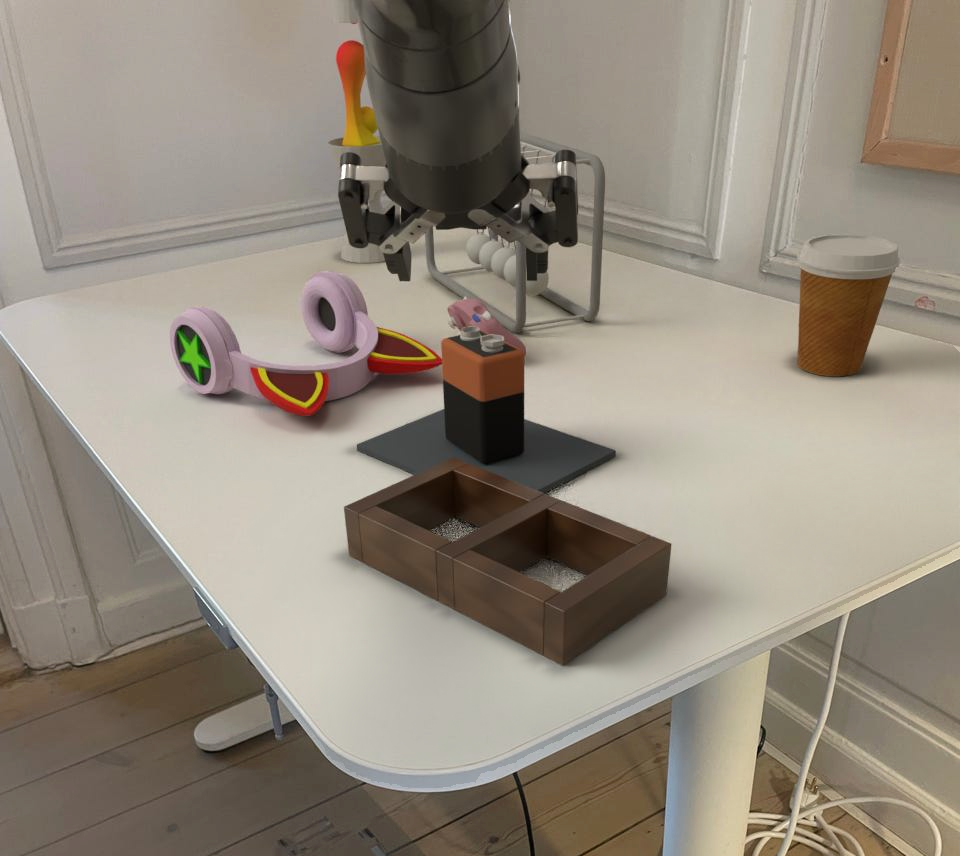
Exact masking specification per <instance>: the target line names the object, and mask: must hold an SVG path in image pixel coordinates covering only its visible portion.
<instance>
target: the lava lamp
mask: <svg viewBox="0 0 960 856" xmlns="http://www.w3.org/2000/svg"><path fill="white" fill-rule="evenodd" d="M331 23H333V24H352V25H356V24H358V20H357V16H356V12H355V8H354V3H353V0H332V15H331ZM335 61H336V66H337V69H338V70H337V71H338V73H339V77H340V81H341V85H342V90H343V93H344V94H343V95H344V103H345V104H344V105H345V115H346V116H345V130H344V136H343V137H339V138H335V139H330V140H329V141H327V142H328V143H327V145H328V147H329V150H330V152H331V155H332V158H333V160H334V163H335V165H336V167H337V169H338V172H340V157H341V155H342V154H343V153H347V152H352V153H355V154H357V155H359V156H360V158H361V162H362V166H381V167H385V164H386V160H385V156H384V151H383V147H382V143H381V139H380V135H374V134H376V132H377V131H378V126H377V122H376V118H375V114H374V110H373V107H370V106H362V105H361V104H362V103H361V102H362V101H361V93H362V90H363V89H362V88H363V85H364V80H365V79H366V71H365V56H364V47H363V43H361V42H359V41H357V40H354V39H353V40H352V39H350V40H346V41H344V42H343V43H341V44H340V46H339V47H338V48H337V51H336V55H335ZM383 192H384V190H383V191H379V192H377V193H376V195H375V199H374V200H373V201H370V202H369V205H370V212H374V213H379V214H381V212H382V210H383V209H384V208H385V206H384V203H383V200H382V197H383ZM340 258H341V260H343V261H346V262H350V263H357V264H373V263H383V262H386V261H385V259H384V255H383V252H381V251H380V249H379V246H377V245H375V244H371V243H368V246H367V247H365V248H355V247H352V246H351V245H350V244H349V240H348V236H347V232H346V229H345V230H344V236H343V241H342V245H341V252H340Z"/></svg>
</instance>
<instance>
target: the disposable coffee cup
mask: <svg viewBox="0 0 960 856" xmlns="http://www.w3.org/2000/svg"><path fill="white" fill-rule="evenodd" d="M796 258H797V261H798V267H799V268H800V277H799V278H800V279H799V282H800V283H799V307H798V308H799V309H798V310H799V311H798V336H797V337H798V340H797V343H798V344H797V364H796V365H797V366H798V367H799V368H800V369H801V370H803V371H805V372H808V373H811V374H815V375H818V376H825V377H843V376H850V375H855V374H857V373H859V372H860V371H861V369H862V366H863V363H864V360H865V357H866V354H867V351H868V348H869V345H870V342H871V339H872V336H873V333H874V330H875V327H876V325H877V321H878V318H879V314H880V312H881V309H882V306H883V304H884V300H885V298H886V295H887V291H888V289H889V284H890V282H891V279H892V277H893V274H894V273H895V272H896V269H897V268H898V267H899V265H900V264H901V259H900V258H899V247H898V244H897V243H895V242H893V241H891V240H889V239H885V238H882V237H878V236H873V235H872V236H871V235H864V234H850V233H849V234H848V233H834V234H833V233H831V234H822V235H817V236H813V237H810V238H808V239H806V240H805V241H804V243H803V246H802V249H801V251H800V252H798V254H797V257H796Z"/></svg>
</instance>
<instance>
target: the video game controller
mask: <svg viewBox="0 0 960 856" xmlns="http://www.w3.org/2000/svg"><path fill="white" fill-rule="evenodd" d="M446 310H447V314H448V315H449V317H450V319H447V321H448V325H449V327H450V328H451V329H452V330H456V328H457V329H458V331H460V332H461V329H462V328H464V327H468V326H474V327H478V328H479V329H480V331H485V332H487V333H489V334H495V335H501V336H503V337H504V341H505V342H507V343H509V344H511V345H513V346H515V347H517V348H519V349H521V350H522V351H523V352H524V359H525V358H526V356H527V348H526V345H525V344H524V342H523V341H521V339H519V338H518V337H517V336H515V335H514V334H512V333H511V332H509V331H508V329H507V328H505V327H504V326H503V325H501V324H500V323H499V322H498V320H497V319H496V318H495V317H494V316H493V315H492V314H491V313H490V312H489V311H488V308H487V307H486V305H485V304H484V303H483V302H481V301H479V300H476V299H467V298H466V296H465V297H464V299H463V298H462V299H457V300H456V301H455V302H453V303H452V304H450V305H449V306H448V307H447V308H446Z"/></svg>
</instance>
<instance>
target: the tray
mask: <svg viewBox="0 0 960 856" xmlns="http://www.w3.org/2000/svg"><path fill="white" fill-rule="evenodd" d="M343 512H344V521H345V522H344V523H345V531H346V539H347V549H348V555H349V556H350V557H351V558H354V559H355V560H357V561H359V562H362V563H363V564H366V565H367V566H369V567H371V568H373V569H375V570H377V571H379V572H381V573H383V574H384V575H387V576H388V577H391V578H392V579H394V580H396V581H398V582H399V583H400V582H401V583H402V584H404V585H405V586H408V587H409V588H411V589H413V590H415V591H417V592H419V593H422V594H423V595H425V596H427V597H428V598H431V599H433V600H435V601H437V602H439V603H440V604H443V605H445V606H446V607H449V608H450V609H452V610H455V611H456V612H458V613H460V614H462V615H464V616H466V617H468V618H470V619H471V620H474V621H475V622H477V623H478V624H479V623H480V624H481V625H483V626H485V627H487V628H490V629H491V630H493V631H495V632H497V633H499V634H501V635H503V636H504V637H507V638H509V639H510V640H513V641H514V642H517V643H518V644H520V645H522V646H524V647H526V648H528V649H530V650H531V651H534V652H536V653H537V654H539V655H541V656H544V657H546V658H547V659H549V660H551V661H553V662H555V663H557V664H559V665H560V666H564V665H566V664H567V663H569V662H570V661H572V660H573V659H575V658H576V657H577V656H579V655H581V654H582V653H583V652H585V651H587V650H588V649H589V648H591V647H592V646H594V645H596V644H597V643H598V642H599V641H601V640H602V639H604V638H605V637H607V636H608V635H610V634H611V633H612V632H615V630H617V629H618V628H620V627H621V626H623V625H624V624H626V623H627V622H629V621H630V620H631V619H633V618H634V617H636V616H637V615H639V614H640V613H642V612H643V611H645V610H646V609H648V608H649V607H651V606H652V605H654V604H655V603H656V602H658V601H660V600H661V599H662V598H664V597H665V596H667V593H668V585H669V575H670V564H671V554H672V546H673V545H672V543H671V542H668V541H666V540H664V539H661V538H658V537H656V536H653V535H651V534H649V533H646V532H644V531H641V530H638V529H636V528H633V527H631V526H628V525H625V524H623V523H620V522H618V521H616V520H614V519H610V518H608V517H605V516H602V515H601V514H597V513H596V512H593V511H590V510H588V509H585V508H583V507H580V506H577V505H575V504H572V503H569V502H568V501H565V500H561V499H559V498H557V497H554V496H551V495H549V494H546V493H542V492H539V491H537V490H534V489H532V488H529V487H526V486H524V485H521V484H519V483H516V482H514V481H511V480H509V479H506V478H503V477H501V476H498V475H496V474H493V473H491V472H488V471H486V470H483V469H481V468H478V467H475V466H473V465H470V464H467V463H465V462H463V461H460V460H458V459H455V458H451V459H449V460H447V461H444V462H442V463H440V464H438V465H436V466H433V467H431V468H429V469H427V470H424V471H422V472H420V473H418V474H412V475H411V476H409V477H406V478H404V479H402V480H400V481H398V482H396V483H393V484H391V485H389V486H387V487H385V488H382V489H379V490H377V491H375V492H373V493H371V494H369V495H366V496H365V497H362V498H360V499H358V500H356V501H353V502H351V503H349V504H346V505H345V506H343ZM453 518H456V519H459V520H461V521H464V522H465V523H468V524H471V525H472V526H474V527H477V528H476V529H474V530H473V531H471V532H469V533H467V534H465V535H462V536H461V537H459V538H457V539H454V540H453V541H452V540H450V539H448V538H445V537H443V536H441V535H439V534H437V533H435V532H432V531H431V529H433V528H435V527H437V526H439V525H441V524H443V523H445V522H447V521H449V520H451V519H453ZM545 558H547V559H550V560H552V561H554V562H557V563H559V564H560V565H561V564H562V565H564V566H565V567H568V568H569V569H570V568H571V569H572V570H575V571H577V572H579V573H582V574H584V575H586V576H585V577H583V578H581V579H580V580H578V581H576V582H575V583H574V584H571V585H570V586H568V587H567V588H565V589H563V590H562V591H560V590H558V589H556V588H554V587H553V586H549V585H547V584H545V583H543V582H541V581H538V580H536V579H534V578H532V577H530V576H527V575H526V574H524V573H521V572H523V571H525V570H526V569H528V568H531V567H532V566H533V565H535V564H537V563H538V562H540V561H542V560H544V559H545Z"/></svg>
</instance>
